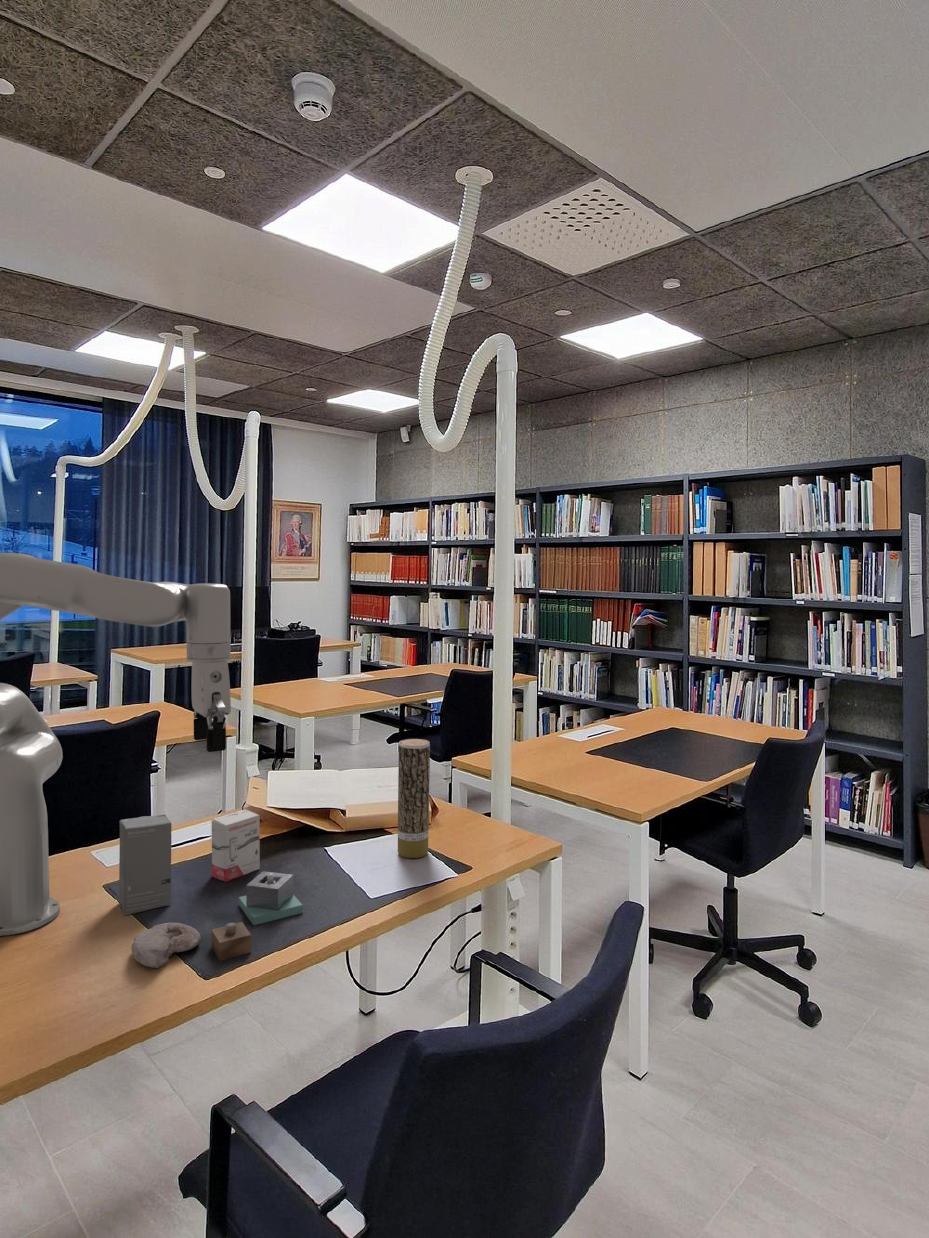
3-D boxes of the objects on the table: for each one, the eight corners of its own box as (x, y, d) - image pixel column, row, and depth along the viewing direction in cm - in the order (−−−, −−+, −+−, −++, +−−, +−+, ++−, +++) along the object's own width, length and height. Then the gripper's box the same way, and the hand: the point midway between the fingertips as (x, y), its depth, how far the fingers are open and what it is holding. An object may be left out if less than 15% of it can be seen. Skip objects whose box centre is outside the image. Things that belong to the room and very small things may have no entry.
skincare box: (124, 916, 129) (122, 830, 128) (118, 901, 135) (116, 818, 134) (173, 905, 133) (173, 822, 132) (166, 890, 139) (165, 810, 138)
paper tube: (434, 852, 160) (436, 741, 159) (416, 862, 155) (417, 748, 153) (409, 845, 164) (411, 737, 162) (391, 855, 158) (392, 743, 157)
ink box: (224, 883, 143) (224, 825, 142) (210, 876, 146) (209, 819, 145) (260, 868, 150) (260, 813, 149) (246, 862, 153) (246, 808, 152)
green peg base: (253, 925, 127) (253, 889, 126) (238, 904, 134) (238, 870, 134) (302, 912, 132) (302, 878, 131) (285, 893, 139) (285, 860, 139)
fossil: (162, 908, 124) (212, 920, 122) (160, 932, 124) (210, 945, 122) (110, 939, 113) (165, 952, 110) (108, 965, 113) (163, 980, 110)
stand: (219, 960, 115) (219, 935, 115) (211, 946, 119) (211, 922, 119) (250, 952, 118) (250, 927, 118) (242, 938, 122) (241, 914, 122)
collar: (278, 910, 129) (278, 888, 129) (246, 906, 130) (246, 885, 130) (293, 895, 135) (293, 874, 135) (262, 891, 136) (262, 871, 136)
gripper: (243, 656, 125) (243, 753, 126) (217, 646, 140) (218, 733, 141) (198, 658, 121) (199, 758, 122) (176, 647, 135) (177, 737, 137)
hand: (209, 744), depth 132 cm, fingers open, 9 cm apart
